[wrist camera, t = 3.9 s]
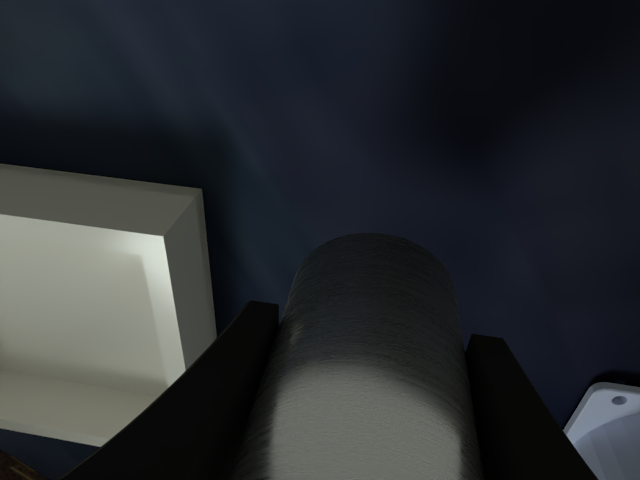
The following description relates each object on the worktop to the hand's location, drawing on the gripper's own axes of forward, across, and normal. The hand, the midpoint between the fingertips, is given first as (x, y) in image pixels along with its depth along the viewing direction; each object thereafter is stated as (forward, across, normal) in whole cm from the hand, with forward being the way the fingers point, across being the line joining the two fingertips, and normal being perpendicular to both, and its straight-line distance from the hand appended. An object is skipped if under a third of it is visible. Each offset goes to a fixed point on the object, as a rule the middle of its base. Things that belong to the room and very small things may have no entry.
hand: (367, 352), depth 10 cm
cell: (+2, 0, 0) cm, 2 cm away
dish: (+6, +12, +6) cm, 15 cm away
